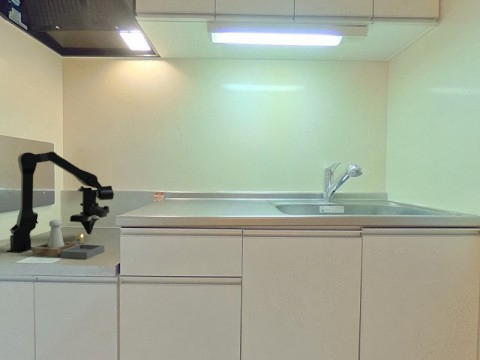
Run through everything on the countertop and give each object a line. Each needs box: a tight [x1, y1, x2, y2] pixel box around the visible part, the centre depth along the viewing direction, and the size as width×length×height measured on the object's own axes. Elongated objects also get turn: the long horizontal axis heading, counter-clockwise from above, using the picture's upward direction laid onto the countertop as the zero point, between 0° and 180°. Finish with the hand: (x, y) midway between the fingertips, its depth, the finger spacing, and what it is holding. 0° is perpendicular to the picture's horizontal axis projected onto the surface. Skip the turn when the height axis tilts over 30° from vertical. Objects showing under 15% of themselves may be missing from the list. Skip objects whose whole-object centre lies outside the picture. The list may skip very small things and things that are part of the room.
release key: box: [71, 232, 85, 244], centre depth 132 cm, size 3×9×4 cm, turn 171°
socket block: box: [31, 241, 78, 258], centre depth 121 cm, size 11×11×3 cm
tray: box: [59, 243, 105, 260], centre depth 119 cm, size 11×11×2 cm
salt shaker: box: [47, 219, 65, 248], centre depth 121 cm, size 6×6×13 cm
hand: (89, 234), depth 142 cm, fingers closed
